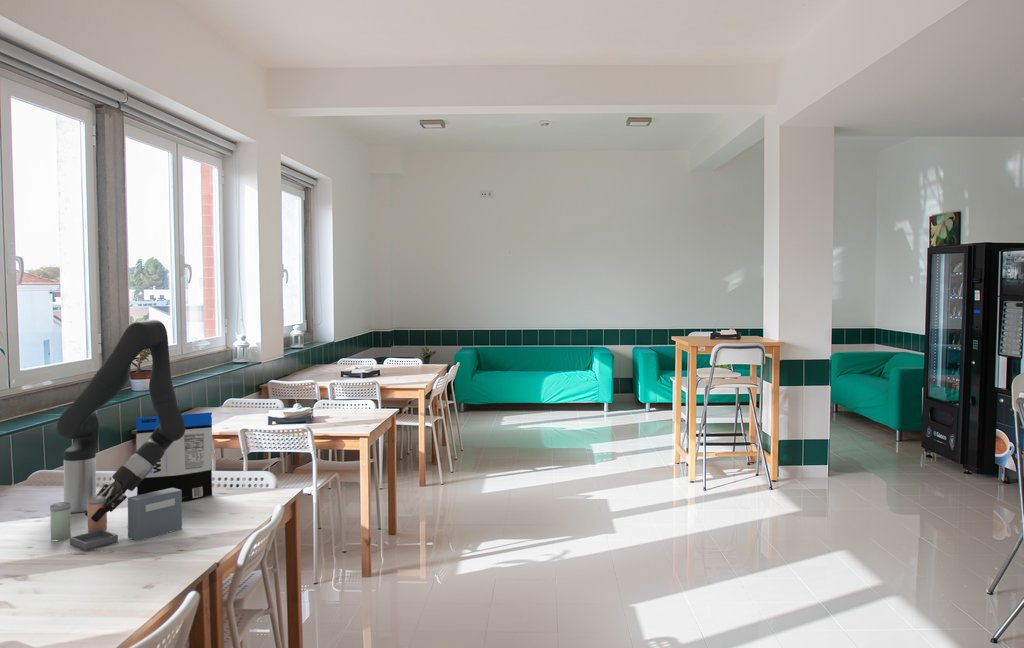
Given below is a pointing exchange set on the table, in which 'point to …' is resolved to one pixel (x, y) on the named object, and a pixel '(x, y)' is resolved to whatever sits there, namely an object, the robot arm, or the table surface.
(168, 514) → the dark grey unit
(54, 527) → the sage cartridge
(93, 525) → the cylinder
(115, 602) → the table surface
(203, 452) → the protein powder
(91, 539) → the charcoal tray
